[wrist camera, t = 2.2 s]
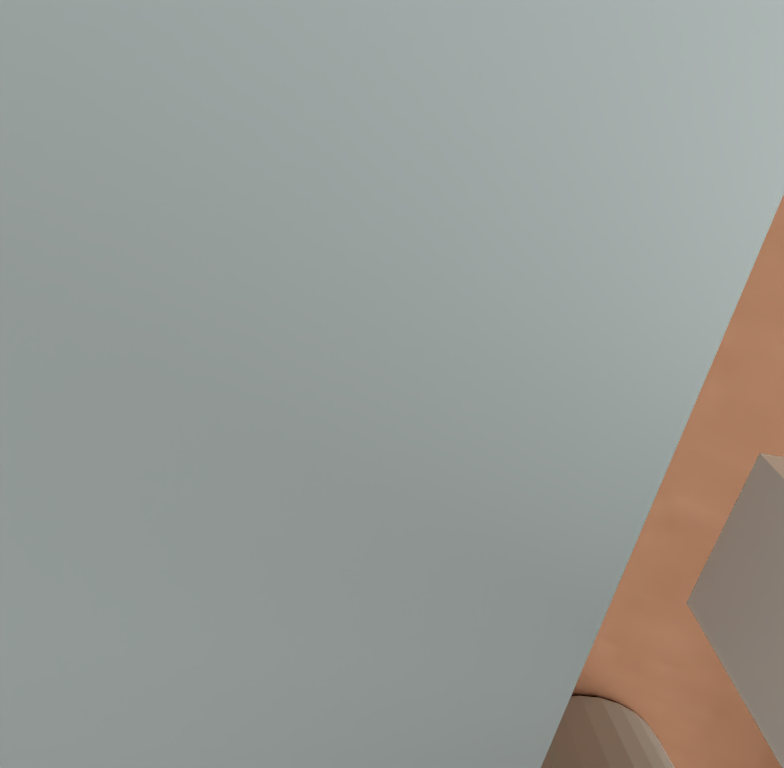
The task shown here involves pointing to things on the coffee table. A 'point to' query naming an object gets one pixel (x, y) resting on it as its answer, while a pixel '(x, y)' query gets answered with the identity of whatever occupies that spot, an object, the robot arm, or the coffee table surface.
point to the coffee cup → (603, 738)
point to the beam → (351, 358)
